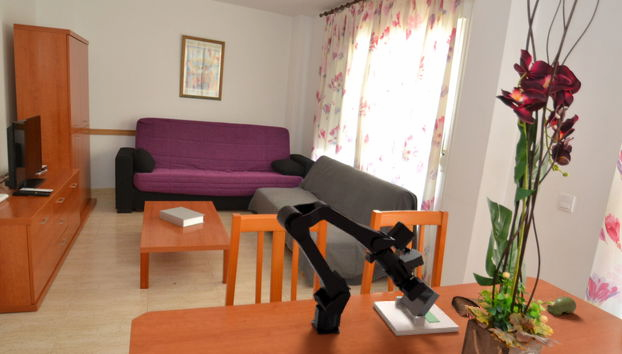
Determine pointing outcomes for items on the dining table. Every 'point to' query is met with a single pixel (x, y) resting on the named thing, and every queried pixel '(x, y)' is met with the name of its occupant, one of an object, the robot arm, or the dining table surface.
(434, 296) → the dark grey square panel
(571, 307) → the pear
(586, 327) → the dining table surface
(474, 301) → the sunglasses case
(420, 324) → the pivot board
